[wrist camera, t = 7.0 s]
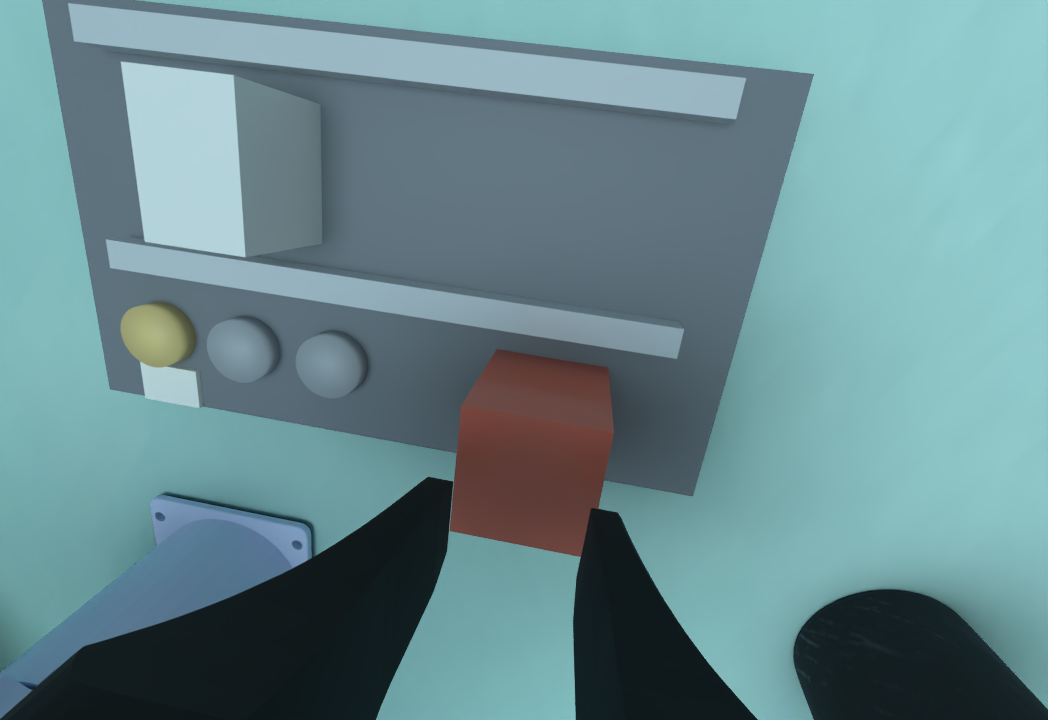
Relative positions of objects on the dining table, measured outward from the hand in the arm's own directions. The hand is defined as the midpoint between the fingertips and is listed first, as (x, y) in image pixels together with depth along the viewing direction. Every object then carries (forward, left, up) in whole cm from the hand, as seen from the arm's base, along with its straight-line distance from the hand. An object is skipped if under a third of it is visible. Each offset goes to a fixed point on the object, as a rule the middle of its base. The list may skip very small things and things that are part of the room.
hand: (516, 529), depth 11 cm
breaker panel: (+5, +6, -8) cm, 11 cm away
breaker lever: (+7, +10, -7) cm, 14 cm away
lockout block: (0, 0, -7) cm, 7 cm away
